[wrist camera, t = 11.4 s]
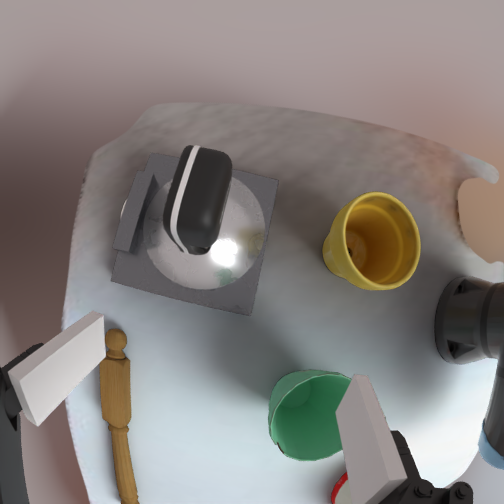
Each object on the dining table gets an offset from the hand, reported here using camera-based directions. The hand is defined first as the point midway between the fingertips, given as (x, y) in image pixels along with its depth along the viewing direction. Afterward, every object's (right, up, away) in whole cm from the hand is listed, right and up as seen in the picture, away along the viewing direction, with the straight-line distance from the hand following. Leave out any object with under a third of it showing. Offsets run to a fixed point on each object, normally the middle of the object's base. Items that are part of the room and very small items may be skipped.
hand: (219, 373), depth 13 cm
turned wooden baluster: (-16, -18, +15) cm, 28 cm away
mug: (+9, -12, +19) cm, 24 cm away
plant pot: (+14, +6, +23) cm, 27 cm away
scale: (-5, +8, +20) cm, 23 cm away
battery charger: (-3, +9, +16) cm, 19 cm away
